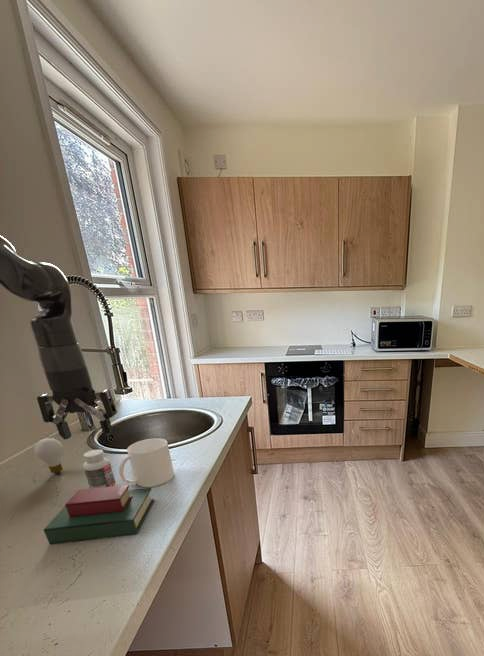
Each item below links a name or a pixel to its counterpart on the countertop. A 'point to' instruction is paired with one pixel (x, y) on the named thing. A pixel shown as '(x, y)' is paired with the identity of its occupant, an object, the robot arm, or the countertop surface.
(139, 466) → the mug
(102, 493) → the pocket book
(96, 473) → the pill bottle
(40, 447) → the light bulb
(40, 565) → the countertop surface
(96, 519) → the hardback
